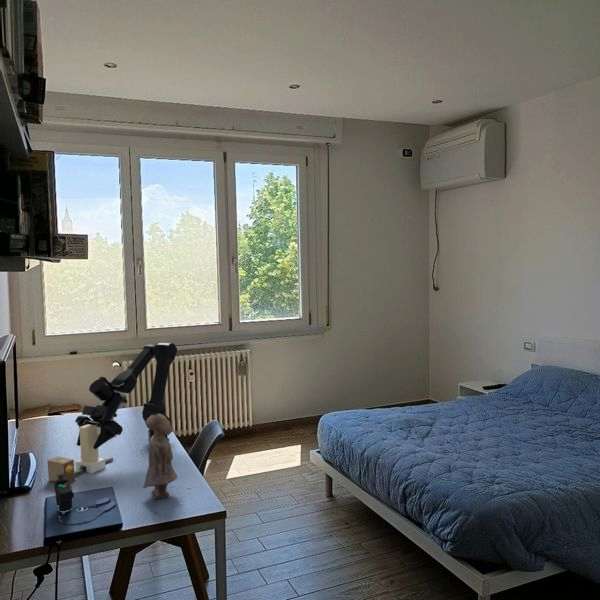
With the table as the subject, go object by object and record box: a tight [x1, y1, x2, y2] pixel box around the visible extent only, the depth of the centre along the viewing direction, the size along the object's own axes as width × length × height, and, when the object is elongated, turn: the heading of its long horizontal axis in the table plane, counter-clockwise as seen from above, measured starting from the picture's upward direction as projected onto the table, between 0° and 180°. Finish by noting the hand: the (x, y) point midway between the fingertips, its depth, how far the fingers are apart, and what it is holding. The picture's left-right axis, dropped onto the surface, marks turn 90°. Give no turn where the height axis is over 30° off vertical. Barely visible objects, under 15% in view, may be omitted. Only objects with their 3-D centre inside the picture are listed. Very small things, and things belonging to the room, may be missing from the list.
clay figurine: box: [142, 413, 178, 499], centre depth 167 cm, size 13×10×25 cm
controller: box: [52, 474, 75, 511], centre depth 158 cm, size 4×12×10 cm, turn 32°
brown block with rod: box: [47, 455, 114, 483], centre depth 190 cm, size 22×8×7 cm, turn 150°
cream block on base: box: [74, 424, 106, 474], centre depth 192 cm, size 6×8×15 cm
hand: (85, 447), depth 191 cm, fingers open, 8 cm apart
